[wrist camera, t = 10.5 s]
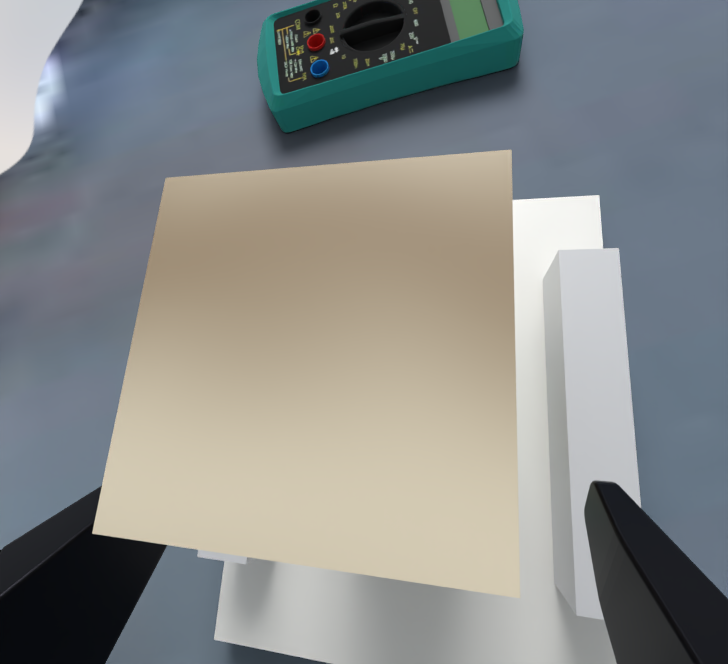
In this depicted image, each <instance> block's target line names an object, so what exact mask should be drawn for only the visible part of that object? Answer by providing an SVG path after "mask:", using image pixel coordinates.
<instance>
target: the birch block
mask: <svg viewBox="0 0 728 664" xmlns="http://www.w3.org/2000/svg"><path fill="white" fill-rule="evenodd" d="M92 534H98V535H105V536H111V537H118V538H125V539H131V540H138V541H144V542H151V543H158V544H164V545H171V546H177V547H184V548H191V549H197V550H204V551H210V552H217V553H224V554H230V555H237V556H244V557H250V558H257V559H263V560H270V561H277V562H283V563H290V564H296V565H303V566H310V567H316V568H323V569H329V570H336V571H343V572H349V573H356V574H363V575H369V576H376V577H382V578H389V579H396V580H402V581H409V582H415V583H422V584H429V585H435V586H442V587H448V588H455V589H462V590H468V591H475V592H481V593H488V594H495V595H501V596H508V597H515V598H520V562H519V510H518V459H517V408H516V356H515V305H514V254H513V202H512V151H511V150H502V151H490V152H478V153H465V154H453V155H441V156H429V157H416V158H404V159H392V160H380V161H367V162H355V163H343V164H331V165H318V166H306V167H294V168H282V169H270V170H257V171H245V172H233V173H221V174H208V175H196V176H184V177H172V178H166V179H165V184H164V189H163V194H162V199H161V203H160V208H159V213H158V218H157V223H156V228H155V232H154V237H153V242H152V247H151V252H150V257H149V261H148V266H147V271H146V276H145V281H144V285H143V290H142V295H141V300H140V305H139V310H138V314H137V319H136V324H135V329H134V334H133V339H132V343H131V348H130V353H129V358H128V363H127V368H126V372H125V377H124V382H123V387H122V392H121V396H120V401H119V406H118V411H117V416H116V421H115V425H114V430H113V435H112V440H111V445H110V450H109V454H108V459H107V464H106V469H105V474H104V478H103V483H102V488H101V493H100V498H99V503H98V507H97V512H96V517H95V522H94V527H93V532H92Z"/></svg>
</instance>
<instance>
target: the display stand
mask: <svg viewBox="0 0 728 664" xmlns="http://www.w3.org/2000/svg"><path fill="white" fill-rule="evenodd" d="M512 202H513V254H514V305H515V356H516V408H517V459H518V510H519V562H520V598H515V597H508V596H501V595H495V594H488V593H481V592H475V591H468V590H462V589H455V588H448V587H442V586H435V585H429V584H422V583H415V582H409V581H402V580H396V579H389V578H382V577H376V576H369V575H363V574H356V573H349V572H343V571H336V570H329V569H323V568H316V567H310V566H303V565H296V564H290V563H283V562H277V561H270V560H263V559H257V558H250V557H244V556H237V555H230V554H224V553H217V552H210V551H204V550H198V556H197V557H202V558H208V559H214V560H221V561H224V569H223V576H222V584H221V591H220V598H219V606H218V613H217V621H216V628H215V636H214V640H218V641H223V642H228V643H233V644H238V645H243V646H248V647H253V648H257V649H262V650H267V651H272V652H277V653H282V654H287V655H292V656H297V657H302V658H306V659H311V660H316V661H321V662H326V663H331V664H617V663H616V659H615V656H614V652H613V649H612V645H611V642H610V638H609V635H608V631H607V628H606V624H605V621H604V618H603V614H602V610H601V606H600V602H599V598H598V592H597V587H596V582H595V576H594V570H593V564H592V559H591V553H590V547H589V541H588V536H587V530H586V524H585V518H584V507H585V503H586V499H587V495H588V491H589V487H590V484H591V482H592V481H594V480H599V481H611V482H615V483H617V484H618V485H619V486H620V487H621V488H622V489H623V490H624V491H625V492H626V493H627V494H628V495H629V496H630V497H631V498H632V499H633V500H634V501H635V502H636V504H637V505H638V506H639V507H640V508H641V501H640V490H639V478H638V466H637V455H636V443H635V432H634V420H633V408H632V397H631V385H630V374H629V362H628V351H627V339H626V327H625V316H624V304H623V293H622V281H621V269H620V258H619V248H609V249H603V241H602V228H601V215H600V202H599V195H595V196H578V197H560V198H542V199H524V200H512Z"/></svg>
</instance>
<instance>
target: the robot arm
mask: <svg viewBox="0 0 728 664" xmlns="http://www.w3.org/2000/svg"><path fill="white" fill-rule="evenodd" d="M101 488H102V486H101V487H99V488H97V489H96V490H94V491H93V492H91V493H89V494H88V495H86V496H85V497H83V498H81V499H80V500H78V501H77V502H75V503H73V504H72V505H70V506H69V507H67V508H65V509H64V510H62V511H61V512H59V513H57V514H56V515H54V516H53V517H51V518H49V519H48V520H46V521H45V522H43V523H41V524H40V525H38V526H37V527H35V528H33V529H32V530H30V531H29V532H27V533H25V534H24V535H22V536H21V537H19V538H17V539H16V540H14V541H13V542H11V543H9V544H8V545H6V546H5V547H3V549H2V550H0V664H105V663H106V661H107V659H108V657H109V655H110V653H111V651H112V650H113V648H114V646H115V644H116V642H117V640H118V638H119V636H120V634H121V632H122V630H123V629H124V627H125V625H126V623H127V621H128V619H129V617H130V615H131V613H132V611H133V610H134V608H135V606H136V604H137V602H138V600H139V598H140V596H141V594H142V592H143V590H144V589H145V587H146V585H147V583H148V581H149V579H150V577H151V575H152V573H153V571H154V569H155V568H156V566H157V564H158V562H159V560H160V558H161V556H162V554H163V552H164V550H165V549H166V546H167V545H164V544H158V543H151V542H144V541H138V540H131V539H125V538H118V537H111V536H105V535H98V534H92V532H93V527H94V522H95V517H96V512H97V507H98V503H99V498H100V493H101ZM584 518H585V524H586V530H587V536H588V541H589V547H590V553H591V559H592V564H593V570H594V576H595V582H596V587H597V592H598V598H599V602H600V606H601V610H602V614H603V618H604V621H605V624H606V628H607V631H608V635H609V638H610V642H611V645H612V649H613V652H614V656H615V659H616V663H617V664H728V599H727V597H726V596H725V595H724V594H723V593H722V592H721V591H720V590H719V589H718V588H717V587H716V586H715V585H714V584H713V583H712V582H711V581H710V580H709V579H708V578H707V577H706V576H705V575H704V573H703V572H702V571H701V570H700V569H699V568H698V567H697V566H696V565H695V564H694V563H693V562H692V561H691V560H690V559H689V558H688V557H687V556H686V555H685V554H684V553H683V552H682V551H681V549H680V548H679V547H678V546H677V545H676V544H675V543H674V542H673V541H672V540H671V539H670V538H669V537H668V536H667V535H666V534H665V533H664V532H663V531H662V530H661V529H660V528H659V526H658V525H657V524H656V523H655V522H654V521H653V520H652V519H651V518H650V517H649V516H648V515H647V514H646V513H645V512H644V511H643V510H642V509H641V508H640V507H639V506H638V505H637V504H636V502H635V501H634V500H633V499H632V498H631V497H630V496H629V495H628V494H627V493H626V492H625V491H624V490H623V489H622V488H621V487H620V486H619V485H618V484H617V483H615V482H611V481H599V480H594V481H592V482H591V484H590V487H589V491H588V495H587V499H586V503H585V507H584Z"/></svg>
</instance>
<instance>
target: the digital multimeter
mask: <svg viewBox="0 0 728 664" xmlns="http://www.w3.org/2000/svg"><path fill="white" fill-rule="evenodd" d="M404 9H405V10H404ZM406 14H407V15H406ZM522 38H523V24H522V19H521V14H520V9H519V5H518V0H315V1H312V2H309V3H306V4H302V5H299V6H296V7H293V8H290V9H287V10H284V11H281V12H277V13H274V14H272V15H270V16H269V17H267V19H266V20H265V21H264V22H263V25H262V30H261V35H260V40H259V46H258V55H257V66H258V77H259V80H260V84H261V87H262V90H263V93H264V96H265V98H266V101H267V103H268V105H269V108H270V110H271V112H272V114H273V115H274V117H275V119H276V121H277V122H278V124H279V126H280V128H281V129H282V131H284V132H285V133H286V132H292V131H295V130H299V129H302V128H305V127H308V126H311V125H314V124H317V123H319V122H322V121H325V120H328V119H331V118H334V117H338V116H341V115H344V114H348V113H351V112H354V111H357V110H360V109H364V108H367V107H370V106H373V105H376V104H379V103H382V102H386V101H389V100H393V99H396V98H400V97H404V96H407V95H411V94H414V93H418V92H421V91H425V90H428V89H432V88H435V87H439V86H443V85H447V84H451V83H455V82H459V81H463V80H467V79H471V78H475V77H479V76H483V75H486V74H490V73H494V72H497V71H501V70H504V69H508V68H512V67H513V66H515V65H517V63H518V62H519V57H520V51H521V45H522ZM341 40H342V41H341ZM276 56H277V58H276ZM277 66H278V68H277ZM278 76H279V78H278Z"/></svg>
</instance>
